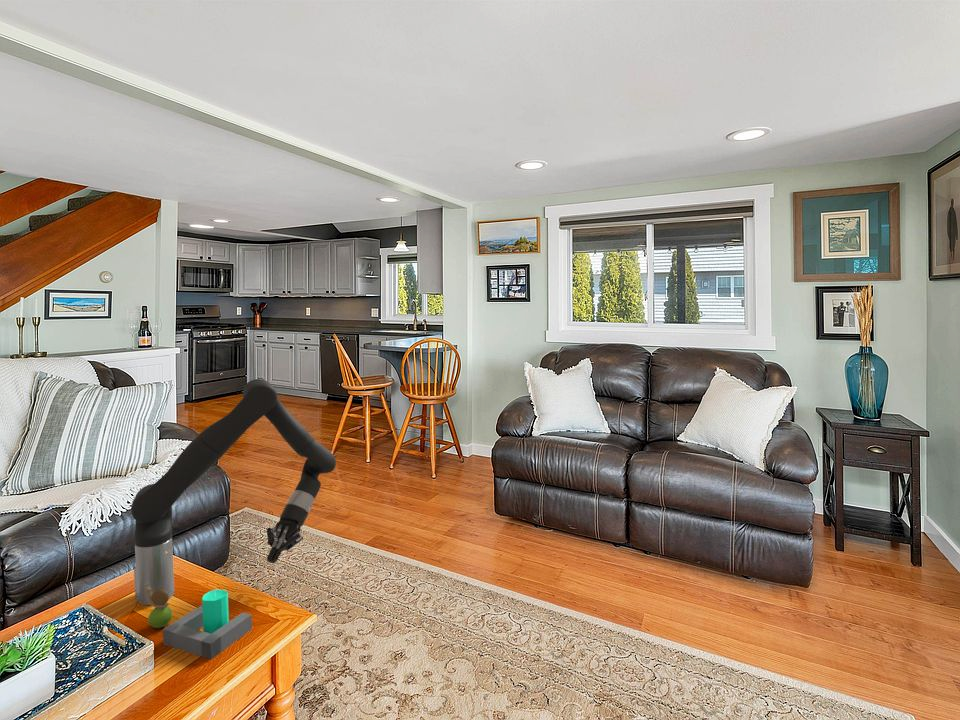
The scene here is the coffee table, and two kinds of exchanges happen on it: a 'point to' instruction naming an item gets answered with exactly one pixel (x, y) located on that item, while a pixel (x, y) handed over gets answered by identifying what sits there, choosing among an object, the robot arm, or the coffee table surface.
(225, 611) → the candle
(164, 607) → the snail figurine
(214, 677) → the coffee table surface
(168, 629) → the grey u-shaped frame
